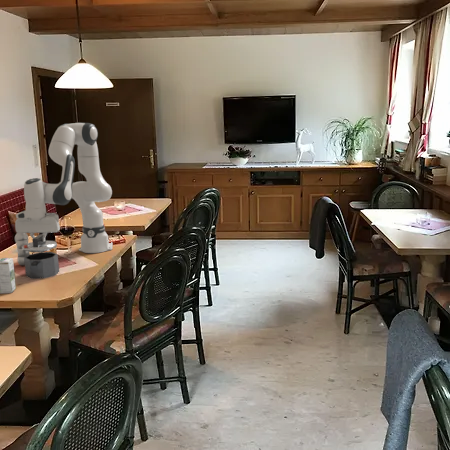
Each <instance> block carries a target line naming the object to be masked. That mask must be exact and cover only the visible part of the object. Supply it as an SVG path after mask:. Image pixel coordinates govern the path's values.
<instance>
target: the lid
mask: <svg viewBox="0 0 450 450" xmlns="http://www.w3.org/2000/svg"><path fill="white" fill-rule="evenodd" d="M43 236H44V235H43V233H39V234H38V235H36V236H35V238H31V239H32V242H31V241H30V242H28V243H27V244H24V245H23V246H22V249H23V250H24V251H29V253H39V252H50V250H53V249H54V248H56V247H58V244H57V242H56V241H54V240H46V239H45V242H41V238H42V237H43Z"/></svg>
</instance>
